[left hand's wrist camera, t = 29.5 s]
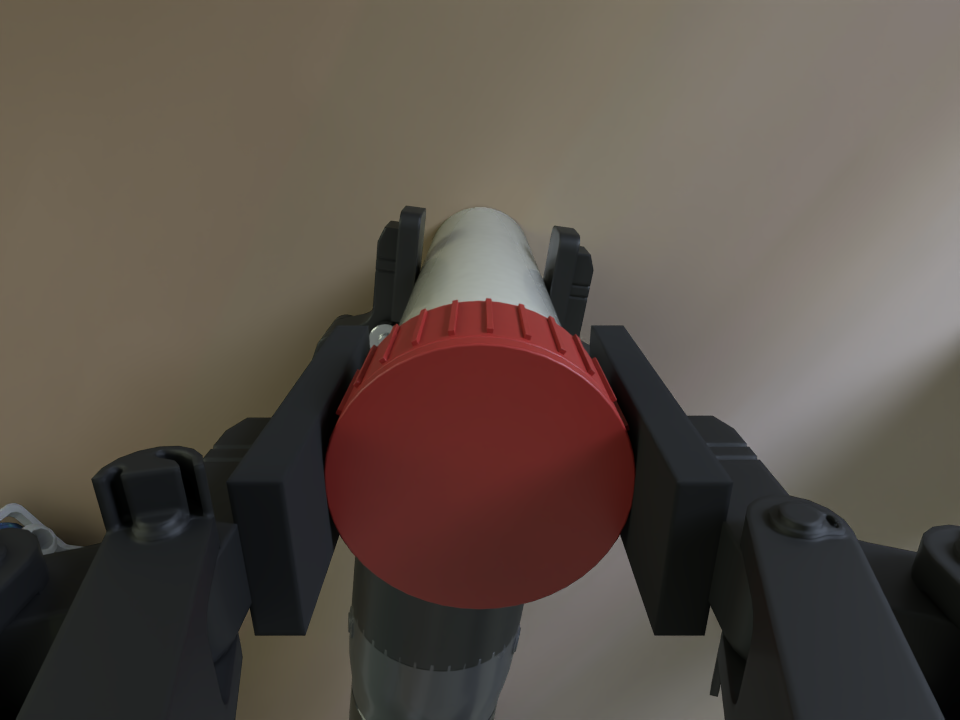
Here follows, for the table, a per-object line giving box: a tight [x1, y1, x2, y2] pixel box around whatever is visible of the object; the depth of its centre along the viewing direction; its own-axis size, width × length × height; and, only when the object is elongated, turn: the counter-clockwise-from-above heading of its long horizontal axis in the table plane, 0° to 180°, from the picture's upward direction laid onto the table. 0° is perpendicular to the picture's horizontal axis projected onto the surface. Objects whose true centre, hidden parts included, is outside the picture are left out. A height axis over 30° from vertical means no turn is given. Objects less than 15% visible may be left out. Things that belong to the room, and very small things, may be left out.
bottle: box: [399, 207, 562, 327], centre depth 19 cm, size 5×5×18 cm
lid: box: [324, 298, 636, 609], centre depth 11 cm, size 5×6×2 cm
